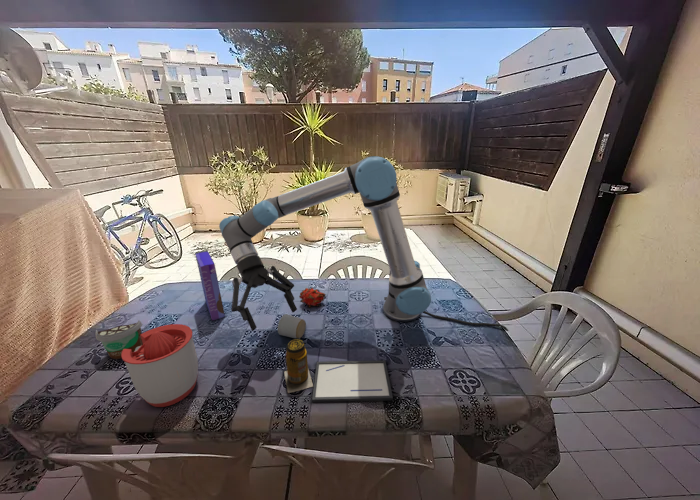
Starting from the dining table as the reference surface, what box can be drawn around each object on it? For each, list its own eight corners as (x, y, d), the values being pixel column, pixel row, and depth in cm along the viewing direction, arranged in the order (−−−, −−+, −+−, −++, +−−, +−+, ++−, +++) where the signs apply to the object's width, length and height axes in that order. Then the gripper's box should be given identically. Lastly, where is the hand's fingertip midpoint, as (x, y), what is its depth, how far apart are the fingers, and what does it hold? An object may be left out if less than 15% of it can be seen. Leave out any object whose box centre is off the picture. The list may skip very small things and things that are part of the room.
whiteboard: (385, 362, 87) (385, 360, 87) (392, 400, 74) (392, 397, 74) (316, 364, 87) (316, 361, 86) (312, 402, 73) (311, 399, 73)
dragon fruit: (298, 306, 121) (324, 309, 122) (296, 305, 113) (325, 308, 114) (300, 287, 124) (327, 290, 125) (299, 285, 115) (327, 288, 116)
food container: (98, 366, 86) (87, 341, 82) (104, 354, 91) (94, 329, 87) (145, 354, 91) (137, 329, 88) (148, 343, 96) (140, 319, 93)
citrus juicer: (159, 368, 85) (142, 314, 78) (214, 369, 84) (201, 315, 77) (118, 414, 70) (92, 352, 63) (183, 416, 70) (164, 353, 63)
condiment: (307, 366, 86) (305, 334, 82) (313, 386, 78) (311, 353, 74) (284, 372, 83) (280, 340, 79) (287, 394, 76) (284, 360, 72)
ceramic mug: (298, 343, 96) (296, 325, 93) (277, 339, 98) (276, 321, 95) (311, 326, 105) (310, 309, 102) (292, 322, 107) (291, 305, 105)
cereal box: (224, 317, 111) (214, 263, 103) (212, 320, 109) (200, 266, 100) (217, 298, 125) (207, 250, 116) (205, 302, 122) (194, 252, 114)
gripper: (278, 255, 98) (305, 308, 93) (205, 276, 82) (232, 341, 77) (285, 245, 92) (313, 300, 87) (207, 265, 76) (237, 334, 71)
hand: (275, 319), depth 82 cm, fingers open, 13 cm apart
